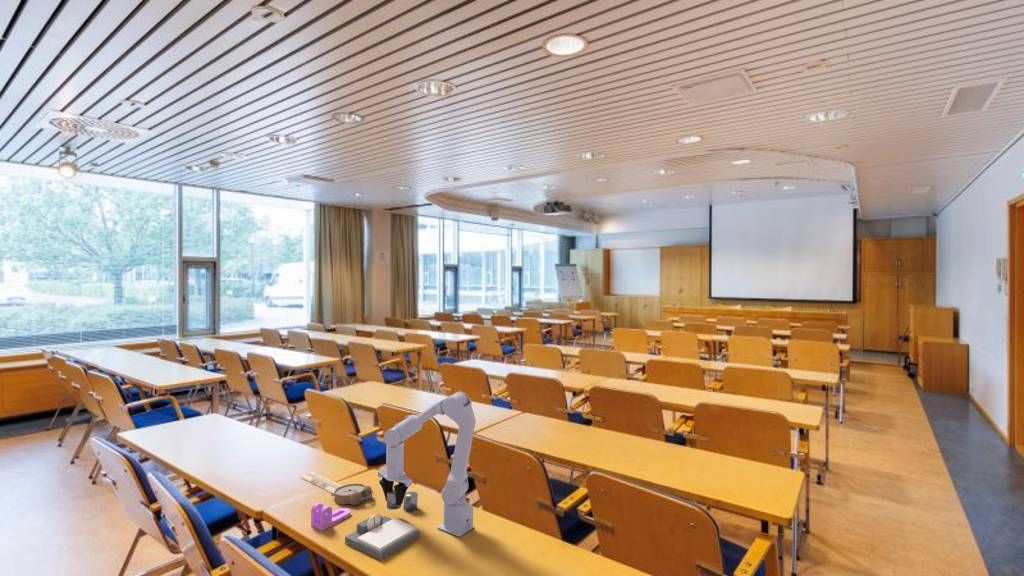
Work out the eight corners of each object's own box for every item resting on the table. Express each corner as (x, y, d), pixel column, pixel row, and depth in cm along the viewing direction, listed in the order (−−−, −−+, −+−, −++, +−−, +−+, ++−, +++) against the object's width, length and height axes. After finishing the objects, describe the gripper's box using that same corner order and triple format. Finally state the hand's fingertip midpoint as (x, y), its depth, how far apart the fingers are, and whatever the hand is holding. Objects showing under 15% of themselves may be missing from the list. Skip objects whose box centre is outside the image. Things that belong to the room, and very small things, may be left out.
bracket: (322, 531, 157) (322, 509, 157) (310, 526, 160) (311, 505, 160) (353, 514, 168) (354, 494, 168) (342, 510, 171) (343, 490, 171)
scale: (419, 536, 155) (420, 516, 155) (380, 560, 141) (381, 538, 141) (384, 522, 163) (385, 503, 163) (344, 543, 150) (345, 522, 150)
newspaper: (348, 491, 187) (348, 486, 187) (331, 497, 182) (332, 492, 182) (314, 475, 202) (314, 470, 202) (298, 480, 196) (298, 476, 196)
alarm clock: (348, 481, 188) (379, 482, 182) (350, 494, 188) (380, 496, 181) (326, 493, 178) (358, 494, 171) (328, 507, 177) (359, 508, 171)
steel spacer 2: (420, 508, 174) (420, 494, 174) (410, 512, 170) (410, 498, 170) (410, 504, 177) (411, 490, 177) (400, 509, 173) (401, 494, 173)
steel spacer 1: (404, 505, 167) (404, 491, 167) (393, 510, 163) (394, 496, 163) (394, 501, 170) (394, 487, 170) (383, 507, 166) (384, 492, 166)
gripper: (418, 463, 166) (418, 503, 166) (388, 454, 174) (388, 492, 174) (403, 470, 160) (402, 511, 160) (373, 460, 168) (372, 499, 168)
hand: (394, 502), depth 167 cm, fingers closed on steel spacer 1, 5 cm apart
